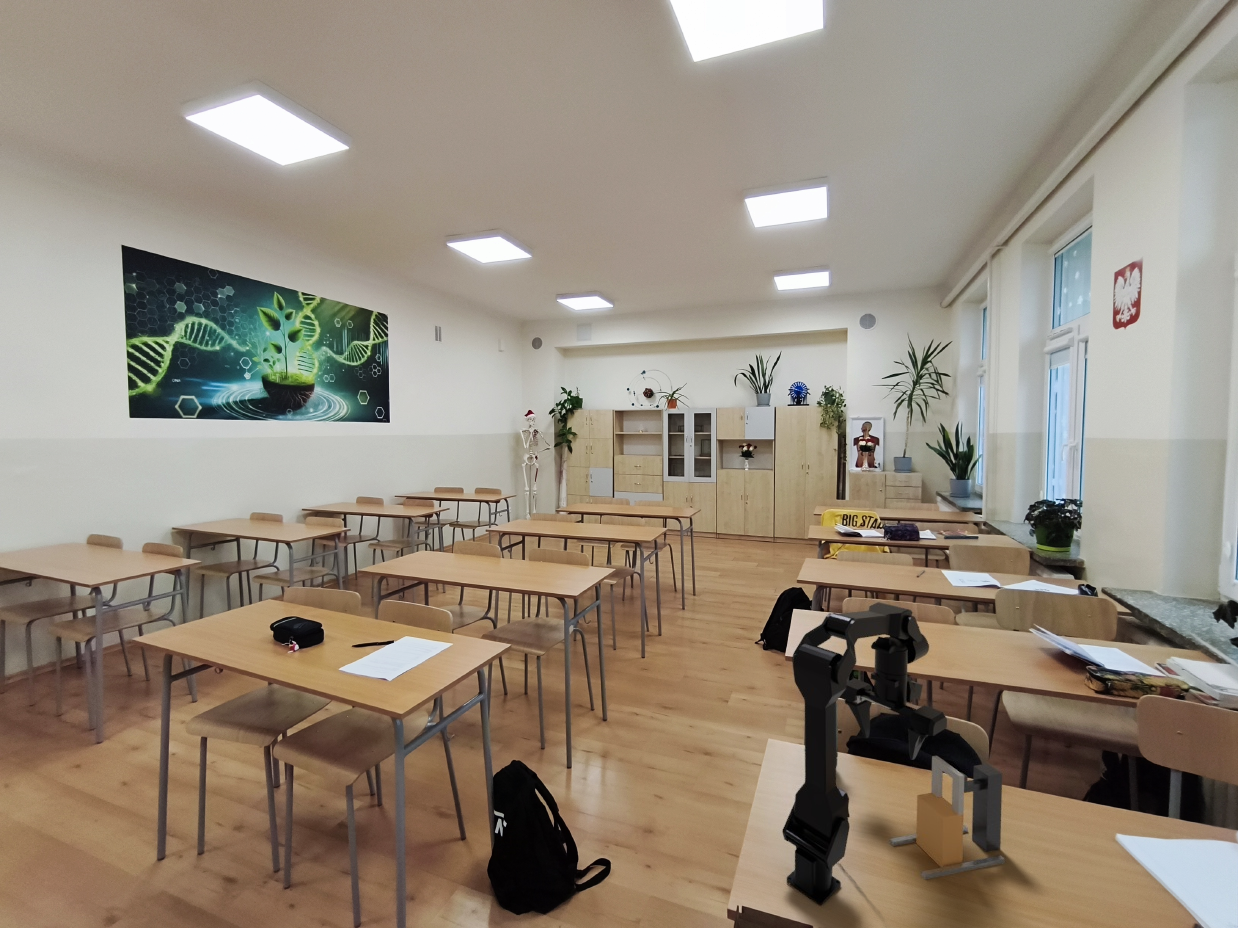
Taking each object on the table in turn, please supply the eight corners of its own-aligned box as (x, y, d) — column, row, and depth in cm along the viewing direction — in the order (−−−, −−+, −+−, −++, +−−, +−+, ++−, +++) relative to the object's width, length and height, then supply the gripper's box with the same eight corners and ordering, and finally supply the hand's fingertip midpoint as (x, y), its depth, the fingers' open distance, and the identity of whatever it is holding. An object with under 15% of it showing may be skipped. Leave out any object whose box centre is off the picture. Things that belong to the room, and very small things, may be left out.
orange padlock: (942, 868, 93) (944, 778, 92) (916, 843, 99) (917, 758, 98) (962, 864, 94) (964, 775, 93) (935, 839, 99) (936, 755, 99)
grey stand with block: (928, 889, 90) (930, 801, 89) (886, 845, 100) (888, 765, 99) (1018, 870, 94) (1020, 785, 93) (969, 829, 103) (971, 752, 103)
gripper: (961, 676, 103) (959, 756, 104) (868, 645, 118) (866, 716, 119) (933, 691, 97) (930, 777, 97) (838, 657, 112) (836, 731, 112)
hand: (888, 747), depth 107 cm, fingers open, 9 cm apart
